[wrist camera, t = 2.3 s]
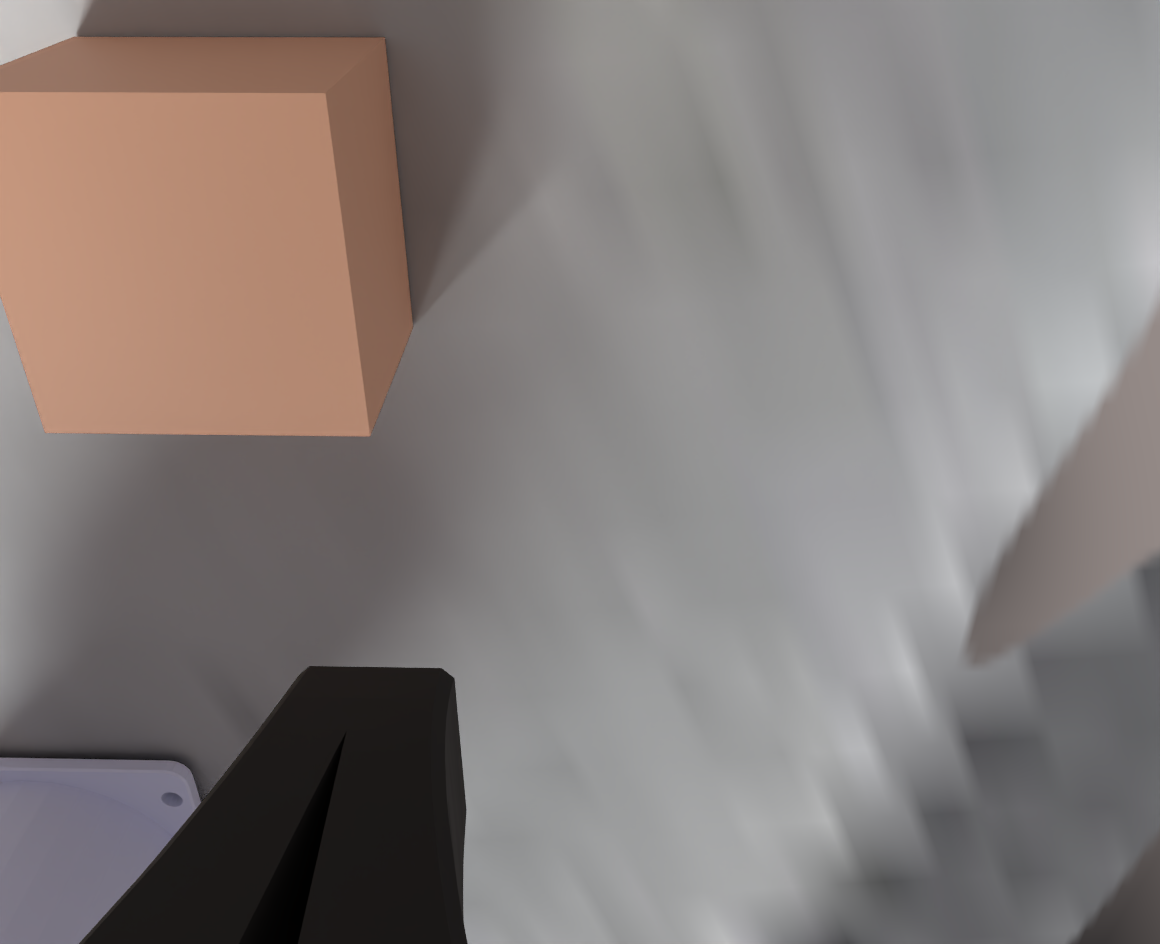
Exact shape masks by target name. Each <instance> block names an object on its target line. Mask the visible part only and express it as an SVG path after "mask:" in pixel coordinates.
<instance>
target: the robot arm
mask: <svg viewBox="0 0 1160 944" xmlns="http://www.w3.org/2000/svg"><path fill="white" fill-rule="evenodd" d="M465 823H466V801H465V790H464V779H463V768H462V757H461V746H460V735H459V724H458V713H457V702H456V692H455V681H454V678H453V677H452V676H451V675H449V674H448V673H447V672H446V671H444V670H443V669H442V668H391V667H326V666H309V667H308V668H307V669H306V670H305V671H303V672H302V673H301V674H300V675H299V676H298V677H297V679H296V680H295V681H294V683H293V684H292V685H291V687H290V688H289V690H288V691H287V692H286V694H285V695H284V696H283V698H282V699H281V700H280V702H279V703H278V704H277V706H276V707H275V708H274V710H273V711H272V712H271V714H270V715H269V716H268V718H267V719H266V720H265V722H264V723H263V724H262V726H261V727H260V728H259V730H258V731H257V732H256V734H255V735H254V736H253V738H252V739H251V740H250V742H249V743H248V744H247V745H246V747H245V748H244V749H243V751H242V752H241V753H240V754H239V756H238V757H237V758H236V760H235V761H234V762H233V763H232V765H231V766H230V767H229V768H228V770H227V771H226V772H225V774H224V775H223V776H222V777H221V779H220V780H219V781H218V783H217V784H216V785H215V786H214V788H213V789H212V790H211V791H210V793H209V794H208V795H207V796H206V797H205V799H204V800H203V801H202V802H201V801H200V798H199V794H198V791H197V788H196V784H195V781H194V777H193V775H192V773H191V771H190V770H189V768H187V767H186V766H185V765H184V764H181V763H179V762H176V761H169V760H112V759H55V758H0V944H467V939H466V934H465V929H464V923H463V857H464V838H465Z"/></svg>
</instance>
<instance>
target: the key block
mask: <svg viewBox="0 0 1160 944" xmlns="http://www.w3.org/2000/svg"><path fill="white" fill-rule="evenodd" d="M0 296H1V299H2V303H3V306H4V309H5V312H6V315H7V318H8V321H9V324H10V327H11V330H12V333H13V336H14V339H15V342H16V345H17V348H18V351H19V354H20V358H21V361H22V364H23V367H24V370H25V373H26V376H27V379H28V382H29V385H30V388H31V391H32V394H33V397H34V400H35V403H36V406H37V410H38V413H39V416H40V419H41V422H42V425H43V428H44V431H45V433H96V434H188V435H279V436H371V433H372V431H373V428H374V425H375V423H376V420H377V418H378V415H379V413H380V410H381V408H382V405H383V403H384V400H385V398H386V395H387V392H388V390H389V387H390V385H391V382H392V380H393V377H394V375H395V372H396V370H397V367H398V364H399V362H400V359H401V357H402V354H403V352H404V349H405V347H406V344H407V342H408V339H409V337H410V334H411V331H412V329H413V320H412V310H411V300H410V290H409V279H408V269H407V259H406V249H405V238H404V228H403V218H402V208H401V197H400V187H399V177H398V166H397V156H396V146H395V136H394V125H393V115H392V105H391V95H390V84H389V74H388V64H387V54H386V43H385V37H72V38H69V39H67V40H64V41H62V42H59V43H57V44H54V45H52V46H49V47H46V48H44V49H41V50H39V51H36V52H34V53H31V54H29V55H26V56H24V57H21V58H18V59H16V60H13V61H11V62H8V63H6V64H3V65H1V66H0Z"/></svg>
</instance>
